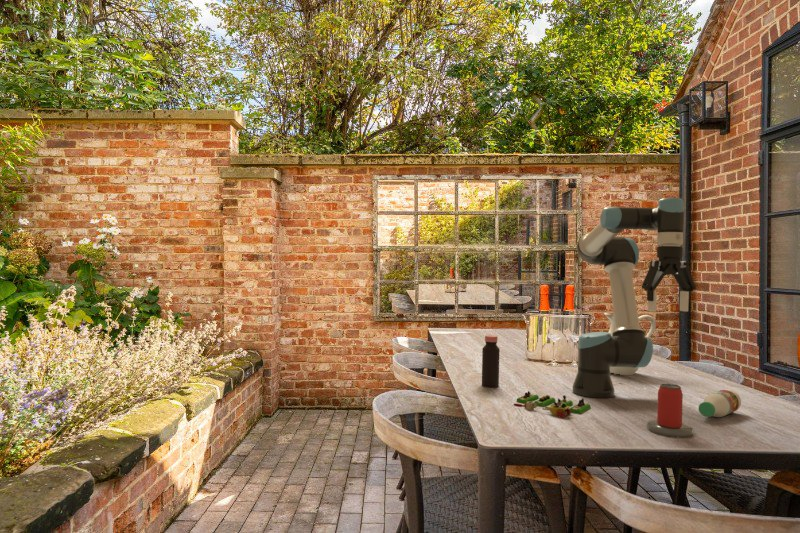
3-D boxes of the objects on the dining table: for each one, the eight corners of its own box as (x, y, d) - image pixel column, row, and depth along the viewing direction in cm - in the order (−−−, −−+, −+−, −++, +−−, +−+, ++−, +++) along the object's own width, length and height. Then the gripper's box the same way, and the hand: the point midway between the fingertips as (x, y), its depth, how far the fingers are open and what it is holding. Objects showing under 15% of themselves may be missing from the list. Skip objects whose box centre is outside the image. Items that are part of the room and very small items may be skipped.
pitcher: (609, 376, 240) (610, 314, 240) (596, 369, 257) (598, 311, 257) (663, 378, 239) (664, 316, 239) (646, 370, 256) (648, 312, 256)
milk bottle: (730, 416, 183) (706, 426, 171) (711, 398, 188) (687, 407, 175) (747, 402, 179) (724, 412, 167) (728, 384, 184) (704, 392, 171)
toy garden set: (590, 409, 184) (591, 396, 184) (570, 421, 169) (570, 406, 169) (528, 398, 198) (528, 385, 198) (504, 408, 183) (504, 394, 183)
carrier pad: (649, 434, 155) (649, 429, 155) (645, 423, 166) (645, 418, 166) (696, 439, 151) (696, 434, 151) (688, 427, 162) (688, 423, 162)
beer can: (660, 421, 163) (661, 382, 163) (684, 425, 159) (685, 385, 159) (654, 426, 158) (655, 385, 158) (678, 430, 154) (679, 389, 154)
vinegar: (498, 384, 218) (499, 335, 218) (499, 388, 211) (500, 337, 211) (481, 383, 218) (482, 334, 218) (482, 387, 212) (483, 336, 212)
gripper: (649, 244, 166) (647, 312, 166) (708, 247, 174) (706, 311, 174) (631, 244, 173) (629, 310, 173) (688, 247, 181) (687, 309, 181)
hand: (668, 311), depth 173 cm, fingers open, 13 cm apart
